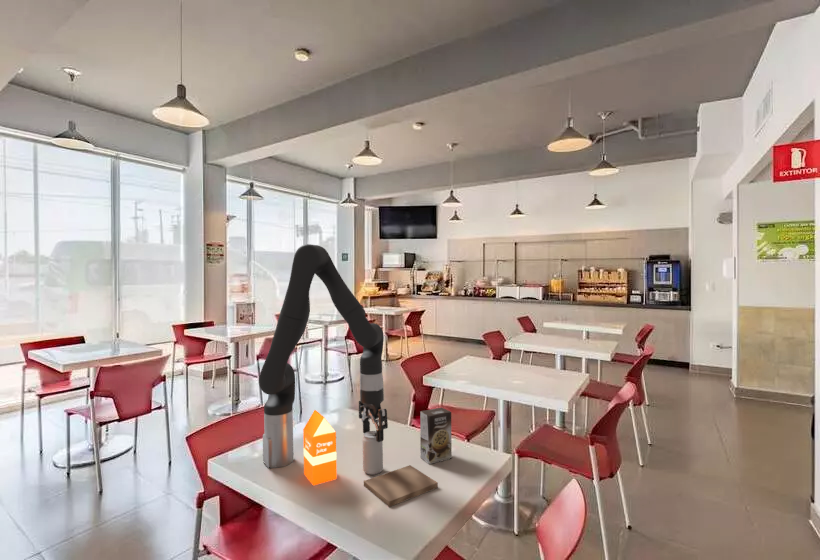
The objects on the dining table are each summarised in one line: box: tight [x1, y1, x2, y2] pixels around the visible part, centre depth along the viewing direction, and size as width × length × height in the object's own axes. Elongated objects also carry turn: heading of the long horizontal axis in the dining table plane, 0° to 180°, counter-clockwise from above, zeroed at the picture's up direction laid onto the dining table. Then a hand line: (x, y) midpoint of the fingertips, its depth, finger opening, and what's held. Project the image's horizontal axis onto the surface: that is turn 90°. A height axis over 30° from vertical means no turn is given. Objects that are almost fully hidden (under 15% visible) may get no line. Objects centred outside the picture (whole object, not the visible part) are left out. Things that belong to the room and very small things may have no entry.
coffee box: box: [419, 407, 453, 465], centre depth 142 cm, size 9×6×16 cm
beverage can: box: [361, 430, 384, 476], centre depth 133 cm, size 6×6×12 cm
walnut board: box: [363, 464, 439, 508], centre depth 123 cm, size 17×14×2 cm
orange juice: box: [302, 409, 338, 486], centre depth 130 cm, size 8×9×20 cm
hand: (373, 437), depth 133 cm, fingers open, 8 cm apart
